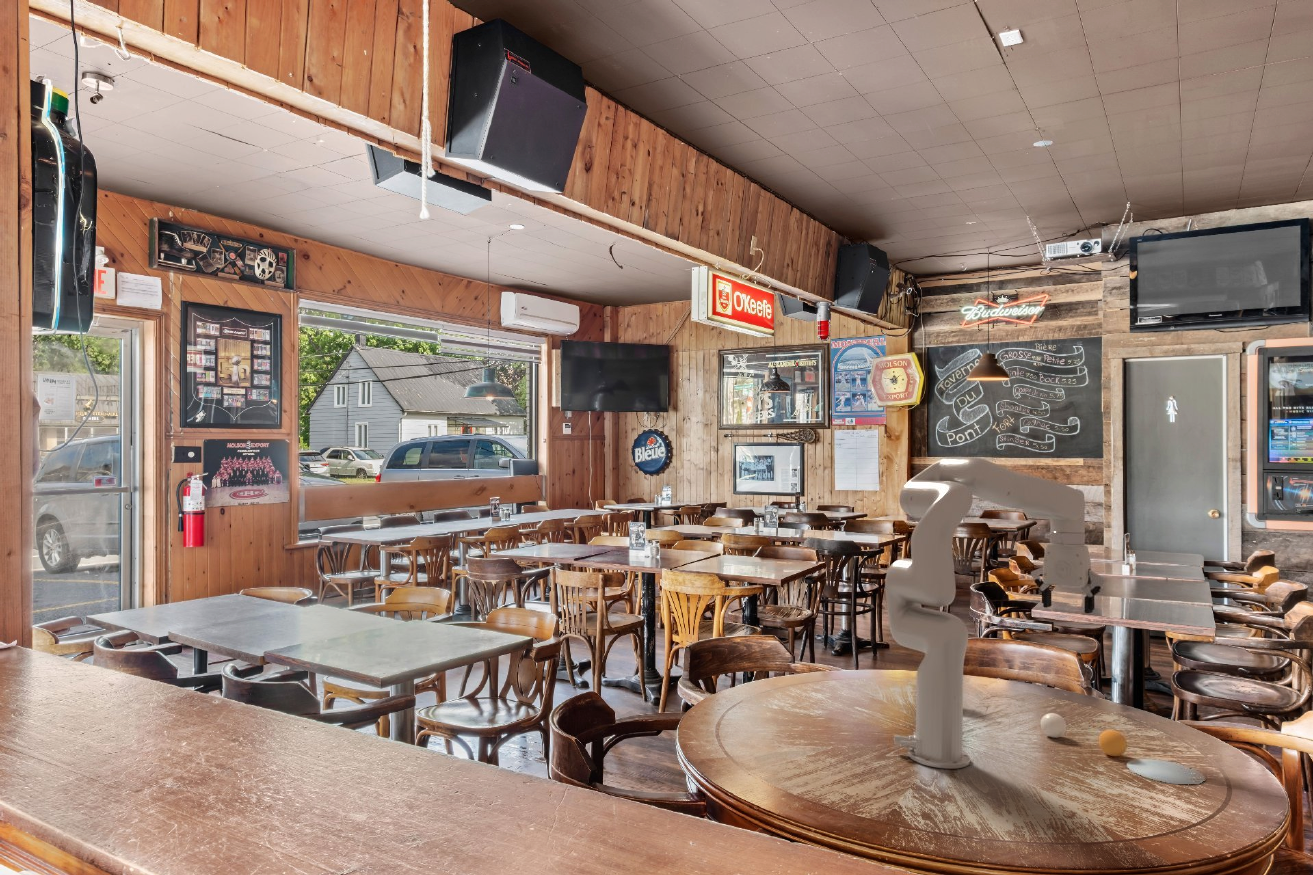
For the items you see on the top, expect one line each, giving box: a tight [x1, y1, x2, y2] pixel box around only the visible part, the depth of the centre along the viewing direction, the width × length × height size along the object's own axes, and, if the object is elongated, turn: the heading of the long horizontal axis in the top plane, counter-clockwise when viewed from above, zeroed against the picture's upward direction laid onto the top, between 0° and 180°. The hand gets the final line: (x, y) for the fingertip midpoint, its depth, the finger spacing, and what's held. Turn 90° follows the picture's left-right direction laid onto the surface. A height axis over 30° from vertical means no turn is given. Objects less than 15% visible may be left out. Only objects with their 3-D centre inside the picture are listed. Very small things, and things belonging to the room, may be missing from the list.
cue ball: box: [1040, 712, 1067, 739], centre depth 194 cm, size 6×6×6 cm
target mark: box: [1126, 758, 1206, 786], centre depth 172 cm, size 14×14×1 cm
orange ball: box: [1098, 729, 1128, 757], centre depth 182 cm, size 6×6×6 cm
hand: (1067, 609), depth 200 cm, fingers open, 9 cm apart
